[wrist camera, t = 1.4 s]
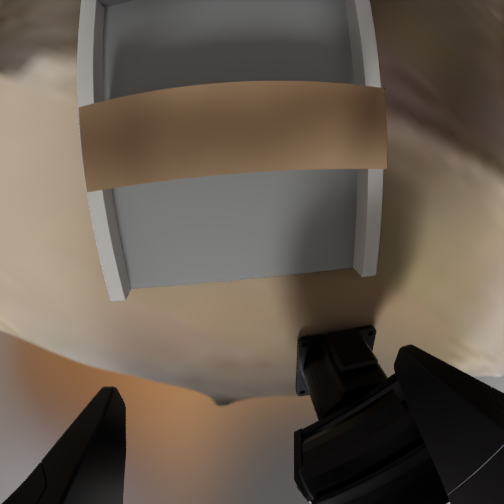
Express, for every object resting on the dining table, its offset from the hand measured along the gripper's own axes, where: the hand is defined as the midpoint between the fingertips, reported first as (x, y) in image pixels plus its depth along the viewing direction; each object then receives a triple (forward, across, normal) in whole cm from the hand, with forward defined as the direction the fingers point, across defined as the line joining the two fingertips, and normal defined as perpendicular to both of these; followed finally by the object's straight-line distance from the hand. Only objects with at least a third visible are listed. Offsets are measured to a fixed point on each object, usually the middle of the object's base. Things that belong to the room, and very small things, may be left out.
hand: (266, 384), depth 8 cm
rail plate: (+12, 0, -8) cm, 15 cm away
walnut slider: (+11, 0, -6) cm, 13 cm away
